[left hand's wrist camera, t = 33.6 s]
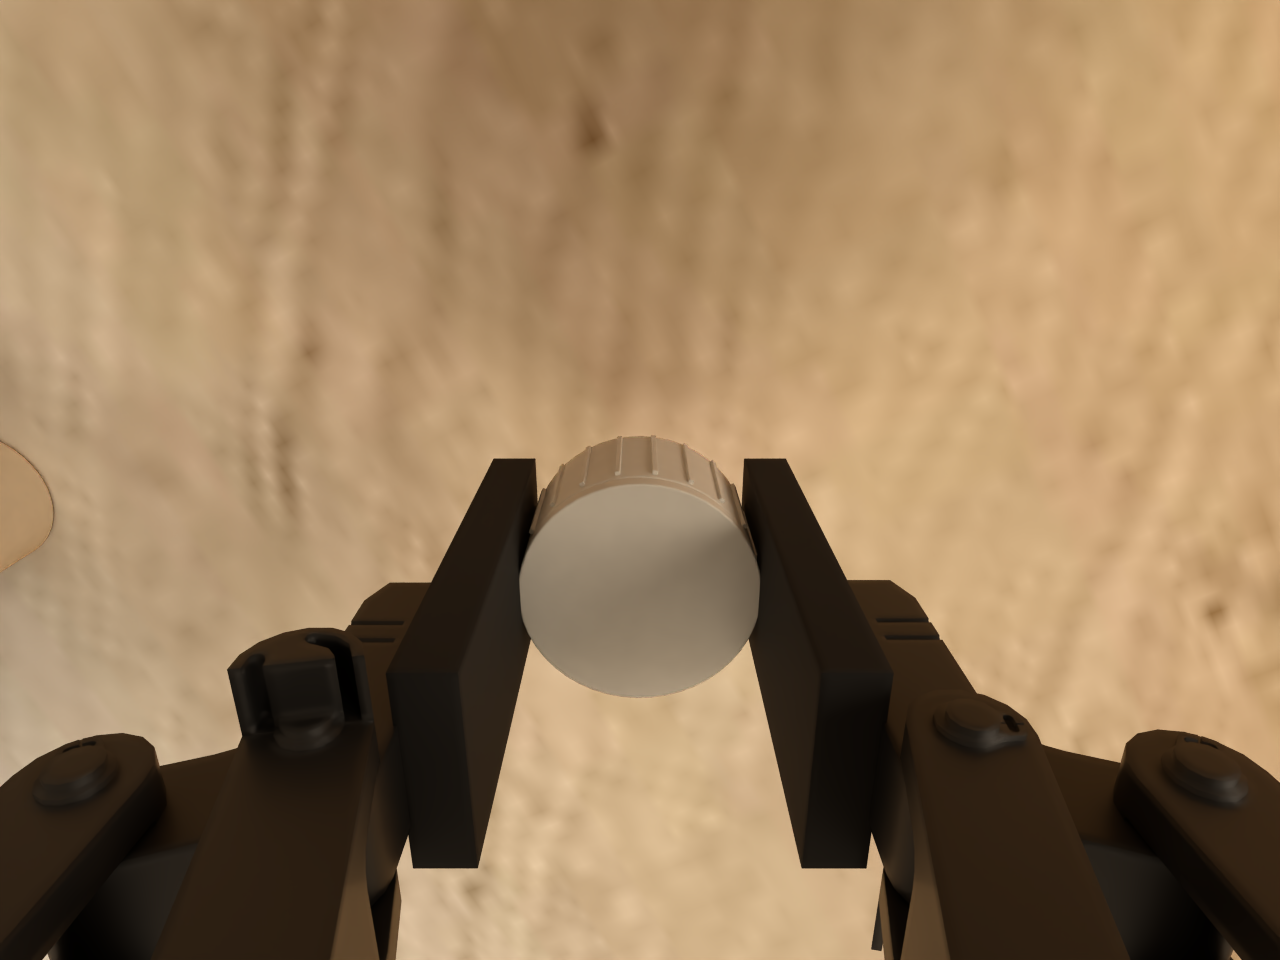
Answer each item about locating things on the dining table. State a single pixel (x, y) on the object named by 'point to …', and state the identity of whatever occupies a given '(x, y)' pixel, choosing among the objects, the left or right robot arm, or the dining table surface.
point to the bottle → (21, 508)
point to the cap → (639, 569)
